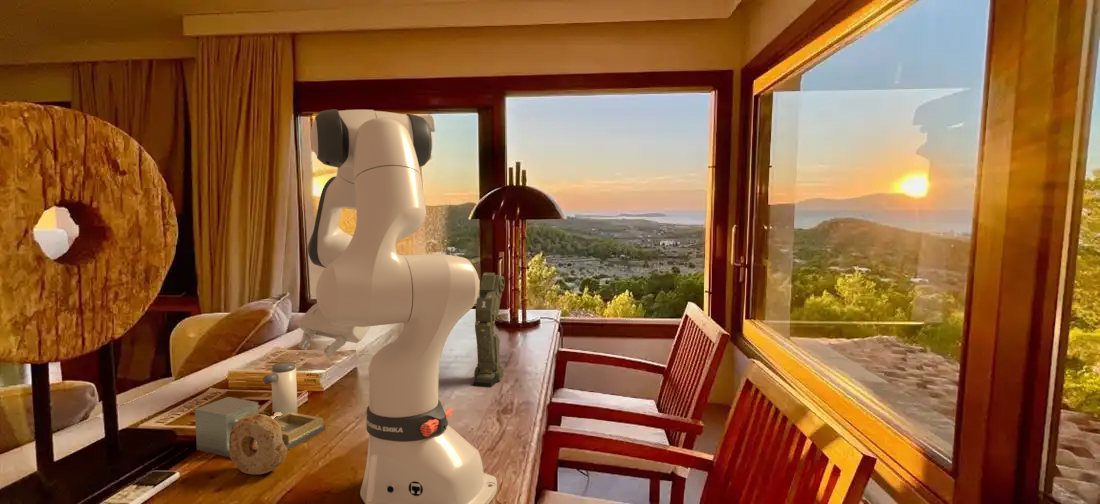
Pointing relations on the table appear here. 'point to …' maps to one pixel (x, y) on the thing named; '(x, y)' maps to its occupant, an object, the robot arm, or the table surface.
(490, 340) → the mechanical leg
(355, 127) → the robot arm
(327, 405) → the table surface
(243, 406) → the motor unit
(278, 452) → the stone disc
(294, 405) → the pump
